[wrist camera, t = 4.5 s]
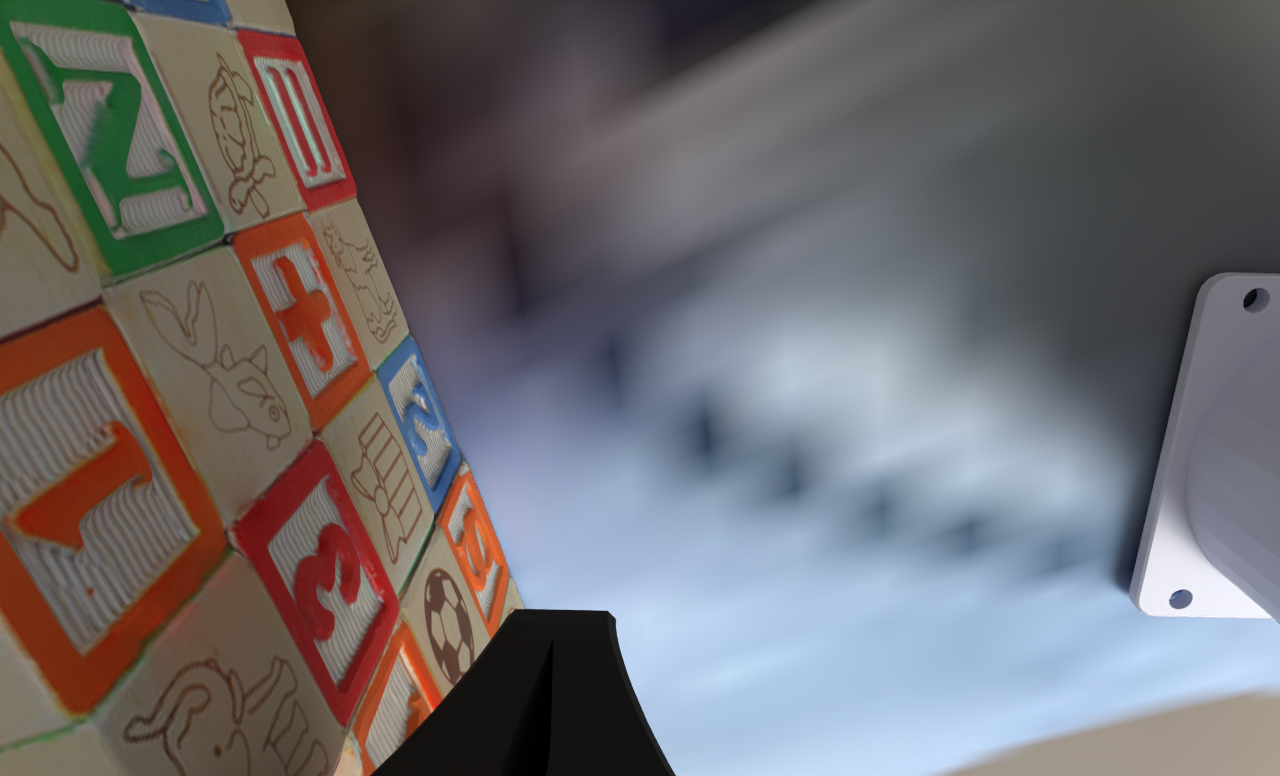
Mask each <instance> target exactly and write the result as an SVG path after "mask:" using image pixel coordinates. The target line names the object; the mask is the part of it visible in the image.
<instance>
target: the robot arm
mask: <svg viewBox="0 0 1280 776" xmlns="http://www.w3.org/2000/svg"><path fill="white" fill-rule="evenodd" d="M1252 289H1257V297H1256V299H1255V301H1254V303H1253V304H1251V305H1250V306H1249V307H1247V308H1244V307H1243V300H1244V298H1245V296H1246V294H1247V293H1248V292H1250V291H1251V290H1252ZM1182 589H1183V591H1182V592H1181V594H1180V596H1178V597H1177V598H1175V599H1171V600H1169V599H1170V597H1171V595H1172V594H1173V593H1174V592H1176V591H1177V590H1182ZM1129 598H1130V599H1131V601H1132V603H1133V604H1134V605H1135V606H1136V608H1137V609H1138V610H1139V611H1141V612H1142V613H1143V614H1145V615H1149V616H1155V617H1200V618H1245V619H1275V620H1276V621H1277V622H1278V623H1279V624H1280V273H1235V272H1226V273H1220V274H1216V275H1215V276H1213V277H1211V278H1209V279H1208V280H1207V281H1206V282H1205V283H1204V284H1203V285H1202V286H1201V288H1200V290H1199V293H1198V295H1197V299H1196V303H1195V307H1194V312H1193V316H1192V320H1191V325H1190V329H1189V333H1188V338H1187V342H1186V346H1185V351H1184V355H1183V359H1182V364H1181V368H1180V372H1179V377H1178V381H1177V386H1176V390H1175V394H1174V399H1173V403H1172V407H1171V412H1170V416H1169V420H1168V425H1167V429H1166V433H1165V438H1164V442H1163V446H1162V451H1161V455H1160V459H1159V464H1158V468H1157V472H1156V477H1155V481H1154V485H1153V490H1152V494H1151V498H1150V503H1149V507H1148V512H1147V516H1146V520H1145V525H1144V529H1143V533H1142V538H1141V542H1140V546H1139V551H1138V555H1137V559H1136V564H1135V568H1134V572H1133V577H1132V581H1131V585H1130V590H1129ZM370 776H676V775H675V774H674V772H673V770H672V768H671V767H670V765H669V763H668V761H667V759H666V757H665V756H664V754H663V752H662V750H661V748H660V746H659V744H658V742H657V740H656V738H655V736H654V734H653V732H652V730H651V728H650V726H649V724H648V722H647V720H646V718H645V715H644V713H643V711H642V708H641V706H640V704H639V701H638V699H637V696H636V694H635V692H634V689H633V687H632V684H631V682H630V679H629V676H628V674H627V671H626V667H625V664H624V661H623V658H622V655H621V651H620V647H619V643H618V638H617V632H616V619H615V618H614V617H613V616H612V615H611V614H610V613H609V612H608V611H592V610H544V609H515V610H514V611H513V612H512V613H510V614H509V615H508V616H507V617H506V619H505V620H504V622H503V623H502V625H501V626H500V628H499V629H498V631H497V632H496V633H495V635H494V636H493V638H492V639H491V640H490V642H489V643H488V644H487V646H486V647H485V648H484V650H483V651H482V652H481V654H480V655H479V656H478V658H477V659H476V660H475V661H474V663H473V664H472V665H471V667H470V668H469V669H468V670H467V672H466V673H465V674H464V675H463V676H462V678H461V679H460V680H459V681H458V682H457V684H456V685H455V686H454V687H453V688H452V689H451V691H450V692H449V693H448V694H447V695H446V697H445V698H444V699H443V700H442V701H441V703H440V704H439V705H438V706H437V707H436V708H435V709H434V711H433V712H432V713H431V714H430V715H429V716H428V717H427V718H426V719H425V720H424V721H423V722H422V723H421V724H420V725H419V726H418V728H417V729H416V730H415V731H414V732H413V733H412V734H411V735H410V736H409V737H408V738H407V739H406V740H405V741H404V742H403V743H402V744H401V745H400V746H399V748H398V749H397V750H396V751H395V752H394V753H393V754H392V755H391V756H390V757H389V758H387V759H386V760H385V761H384V762H383V763H382V764H381V765H380V766H379V767H378V768H377V769H376V770H375V771H374V772H373V773H372V774H371V775H370Z"/></svg>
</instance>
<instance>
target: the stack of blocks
mask: <svg viewBox="0 0 1280 776" xmlns="http://www.w3.org/2000/svg"><path fill="white" fill-rule="evenodd" d="M356 194H357V190H356V184H355V182H354V179H353V177H352V174H351V171H350V168H349V166H348V163H347V160H346V158H345V155H344V153H343V150H342V147H341V145H340V142H339V140H338V137H337V135H336V132H335V130H334V127H333V125H332V122H331V120H330V117H329V115H328V112H327V110H326V107H325V105H324V102H323V100H322V97H321V94H320V92H319V89H318V87H317V84H316V81H315V79H314V76H313V74H312V71H311V68H310V66H309V63H308V61H307V58H306V56H305V53H304V51H303V48H302V46H301V44H300V43H299V41H298V39H297V37H296V34H295V30H294V26H293V21H292V18H291V15H290V13H289V10H288V8H287V5H286V3H285V0H0V776H370V775H371V774H372V773H373V772H374V771H375V770H376V769H377V768H378V767H379V766H380V765H381V764H382V763H383V762H384V761H385V760H386V759H387V758H389V757H390V756H391V755H392V754H393V753H394V752H395V751H396V750H397V749H398V748H399V746H400V745H401V744H402V743H403V742H404V741H405V740H406V739H407V738H408V737H409V736H410V735H411V734H412V733H413V732H414V731H415V730H416V729H417V728H418V726H419V725H420V724H421V723H422V722H423V721H424V720H425V719H426V718H427V717H428V716H429V715H430V714H431V713H432V712H433V711H434V709H435V708H436V707H437V706H438V705H439V704H440V703H441V701H442V700H443V699H444V698H445V697H446V695H447V694H448V693H449V692H450V691H451V689H452V688H453V687H454V686H455V685H456V684H457V682H458V681H459V680H460V679H461V678H462V676H463V675H464V674H465V673H466V672H467V670H468V669H469V668H470V667H471V665H472V664H473V663H474V661H475V660H476V659H477V658H478V656H479V655H480V654H481V652H482V651H483V650H484V648H485V647H486V646H487V644H488V643H489V642H490V640H491V639H492V638H493V636H494V635H495V633H496V632H497V631H498V629H499V628H500V626H501V625H502V623H503V622H504V620H505V619H506V617H507V616H508V615H509V614H510V613H512V612H513V611H514V610H515V609H525V608H524V605H523V603H522V600H521V598H520V595H519V593H518V591H517V588H516V586H515V583H514V581H513V579H512V578H511V577H510V575H509V571H508V565H507V562H506V560H505V557H504V554H503V551H502V549H501V546H500V544H499V541H498V539H497V536H496V534H495V531H494V529H493V526H492V524H491V521H490V518H489V516H488V513H487V511H486V508H485V506H484V503H483V500H482V498H481V495H480V493H479V491H478V488H477V486H476V483H475V481H474V478H473V476H472V473H471V470H470V468H469V466H468V464H467V463H466V462H465V461H463V460H462V459H461V457H460V453H459V450H458V447H457V444H456V442H455V439H454V436H453V434H452V432H451V429H450V427H449V425H448V422H447V420H446V417H445V415H444V412H443V410H442V407H441V404H440V402H439V399H438V397H437V394H436V392H435V389H434V387H433V384H432V382H431V379H430V377H429V374H428V372H427V369H426V367H425V364H424V362H423V359H422V356H421V354H420V351H419V349H418V346H417V343H416V342H415V340H414V339H413V337H412V336H411V335H410V333H409V329H408V326H407V322H406V319H405V317H404V314H403V312H402V309H401V307H400V304H399V302H398V299H397V297H396V294H395V292H394V289H393V287H392V284H391V282H390V279H389V277H388V274H387V272H386V269H385V267H384V264H383V262H382V259H381V257H380V254H379V252H378V249H377V247H376V244H375V242H374V239H373V237H372V234H371V232H370V229H369V227H368V224H367V222H366V220H365V217H364V215H363V212H362V210H361V207H360V206H359V204H358V202H357V197H356Z"/></svg>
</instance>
